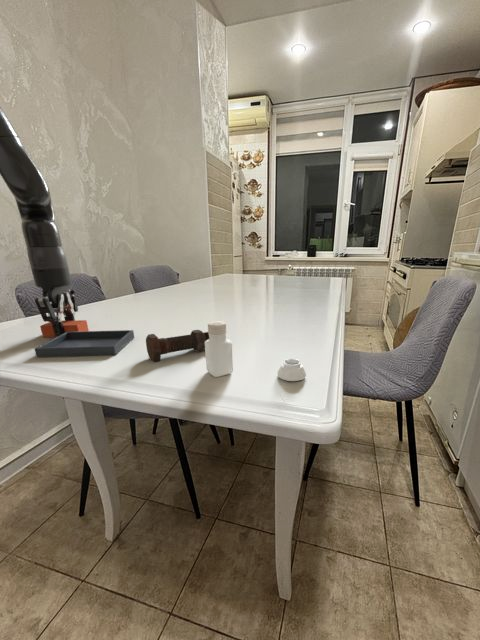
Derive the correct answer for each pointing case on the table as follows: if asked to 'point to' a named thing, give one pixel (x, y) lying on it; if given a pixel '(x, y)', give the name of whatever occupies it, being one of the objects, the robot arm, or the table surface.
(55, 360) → the table surface
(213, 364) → the white square bottle
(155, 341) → the bolt
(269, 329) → the table surface
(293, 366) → the lidless jar
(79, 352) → the tray
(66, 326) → the pad
